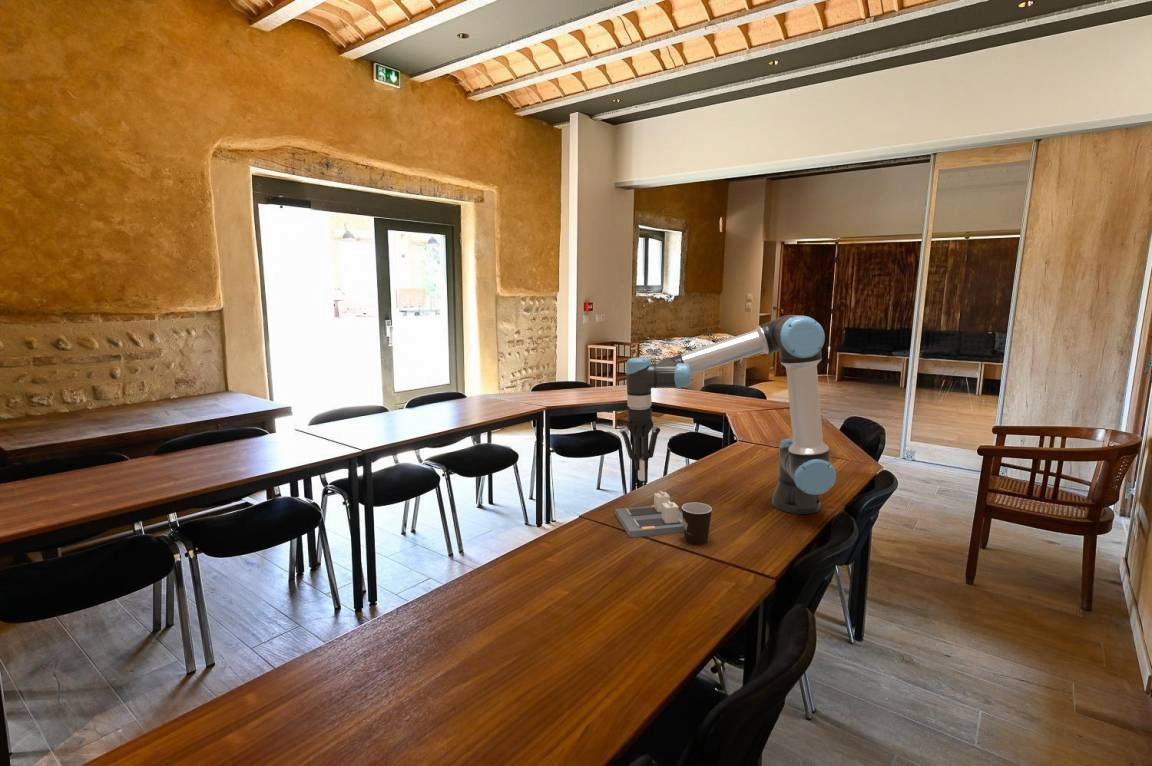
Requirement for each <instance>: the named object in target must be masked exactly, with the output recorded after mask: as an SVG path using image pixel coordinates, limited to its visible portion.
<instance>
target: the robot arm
mask: <svg viewBox="0 0 1152 766" xmlns="http://www.w3.org/2000/svg"><path fill="white" fill-rule="evenodd" d="M825 335H826V334H825V331H824V329H823V326H822V325H821V324H820V323H819V322H818V321H817V320H815V318H812V317H810V316H806V315H798V314H786V315H783V316H780V317H778V318H776V319H772V320H771V321H768V322H765V323H762V324H759V325H757V326H756V328H755V329H754V330H751V331H747V332H746V333H742V334H738V335H735V336H733V337H729V338H727V339H726V338H725V339H723V340H721V341H718V342H714V343H711V344H708V345H705V346H702V347H699V348H696V349H693V350H690V351H689V350H688V351H687V352H684V353H681V354H677V355H674V356H667V357H664V358H661V360H660V361H659V362H658V363H657V364H656V363H652V362H651V361H652V360H651V359H650V358H649V357H641V356H640V357H632V358H629V359H628V360H627V361H626V374H625V376H626V393H627V394H626V395H627V397H626V398H627V403H626V404H627V407H628V408H627V424H626V427H625V428H623V429H620V430H619V433H620V434H621V436H622V438H623V441H624V444H625V445H624V446H625V448H626V452H627V456H628V458H629V459H630V460H632V461H633V460H634V469H635V471H637V479H638V480H639V481H640V482H644V481H646V476H645V475H646V473H645V471H647V470H648V461H649V459H652V458H653V457H654V454H655V449H656V444H657V439H658V435H659V434H660V432H661V428H660V427H658V425H657V426H656V425H655V424H654V422H653V415H652V414H653V413H652V412H653V411H652V409H653V408H651V406H652V405H653V404H652V403H653V402H652V389H680V388H682V389H683V388H688V387H690V385H691V375H694V374H698V373H701V372H704V371H708V370H710V369H713V368H717V367H721V366H724V365H726V364H729V363H733V362H737V361H739V360H743V359H745V358H749V357H752V356H755V355H758V354H761V353H763V354H765V355H768V354H771V353H777V352H779V353H778V354H779V361H780V364H781V365H782V366H784V368H785V370H786V380H787V381H786V382H787V393H788V404H789V414H790V423H791V424H790V425H791V438H784V439H782V440H780V442H779V447H778V450H779V453H778V454H779V458H778V482H777V485H776V487H775V489H774V492H773V495H772V498H771V499H772V500H771V504H772V507H774V508H775V509H777V510H780V511H782V512H784V513H790V514H797V515H811V514H816V513H817V512H819V511H820V510H821V500H820V497H819V495H822V494H824V493H826V492H828V491H829V490H830V489H832V487H833V486H834V485H835V483H836V480H837V473H836V469H835V467H834V464H832V463H831V457H830V456H831V455H830V447H829V445H827V444H826V443H825V442H824V436H823V424H822V414H821V401H820V389H819V375H818V364H819V363H820V362H821V361H822V359H823V357H822V348H823V346H824V344H825V339H826V336H825ZM629 432H630V433H631V435H632V437H633V447H632V444H631V441H630V438H629V437H630V436H629ZM650 432H651V434H650ZM649 434H650V440H649V444H648V439H649V438H648V435H649ZM640 439H641V443H640ZM640 444H641V447H640ZM640 448H641V449H640ZM640 450H641V451H640ZM640 454H641V456H640Z"/></svg>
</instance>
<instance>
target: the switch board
mask: <svg viewBox="0 0 1152 766" xmlns="http://www.w3.org/2000/svg"><path fill="white" fill-rule="evenodd" d="M614 510H615V513H614V514H615V516H616V518H617V520H618V521H619V523H620V524H621V526H622V528H623V529H624V531H625V532H626V534H627V535H628V537H629V538H630V539H631V538H632V539H633V538H641V537H650V536H651V537H652V536H661V535H662V536H663V535H672V534H682V533H684V524H683V515H682V510H680V509H679V512H678V522H677V523H665V522H664V521H663V519H662V512H657V511H656V509H655V508H654V504H651V505H647V506H646V505H645V506H635V507H623V508H621V507H620V508H615V509H614ZM684 534H685V533H684Z"/></svg>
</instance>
